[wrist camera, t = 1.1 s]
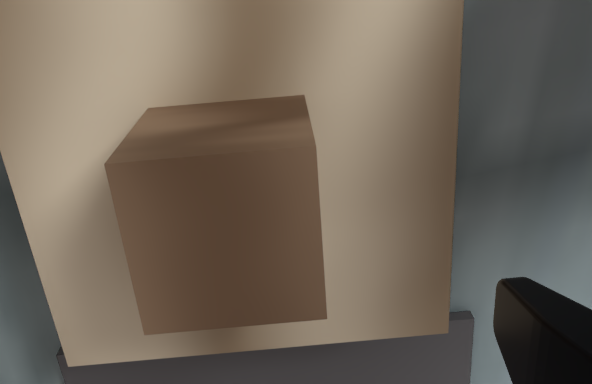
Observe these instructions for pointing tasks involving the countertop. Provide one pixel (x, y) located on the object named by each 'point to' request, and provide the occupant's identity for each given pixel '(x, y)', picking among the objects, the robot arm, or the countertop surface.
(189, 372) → the mat
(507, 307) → the robot arm
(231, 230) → the lid
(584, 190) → the countertop surface
